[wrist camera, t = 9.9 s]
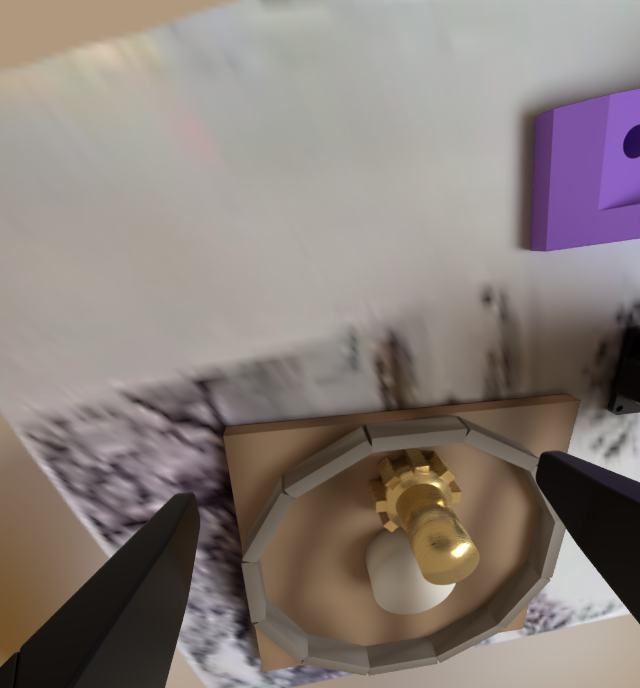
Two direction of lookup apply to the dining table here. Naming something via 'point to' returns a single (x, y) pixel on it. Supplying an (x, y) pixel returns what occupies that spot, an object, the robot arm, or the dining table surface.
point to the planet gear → (425, 514)
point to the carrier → (391, 547)
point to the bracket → (587, 173)
